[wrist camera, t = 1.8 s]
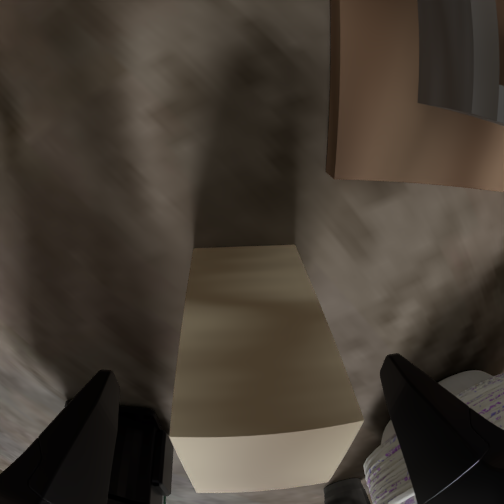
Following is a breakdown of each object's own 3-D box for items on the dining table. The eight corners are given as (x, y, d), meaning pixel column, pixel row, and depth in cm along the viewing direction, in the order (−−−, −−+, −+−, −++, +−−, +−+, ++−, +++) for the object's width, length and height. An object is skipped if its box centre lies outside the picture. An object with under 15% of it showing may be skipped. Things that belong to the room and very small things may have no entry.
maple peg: (202, 325, 14) (197, 492, 7) (193, 248, 12) (169, 437, 5) (288, 321, 15) (328, 481, 8) (294, 244, 13) (364, 420, 6)
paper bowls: (332, 462, 24) (349, 533, 17) (395, 357, 17) (448, 466, 10) (453, 430, 26) (477, 484, 19) (527, 330, 19) (574, 391, 12)
